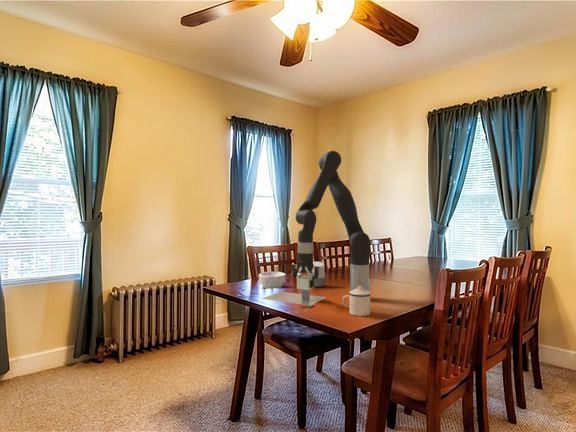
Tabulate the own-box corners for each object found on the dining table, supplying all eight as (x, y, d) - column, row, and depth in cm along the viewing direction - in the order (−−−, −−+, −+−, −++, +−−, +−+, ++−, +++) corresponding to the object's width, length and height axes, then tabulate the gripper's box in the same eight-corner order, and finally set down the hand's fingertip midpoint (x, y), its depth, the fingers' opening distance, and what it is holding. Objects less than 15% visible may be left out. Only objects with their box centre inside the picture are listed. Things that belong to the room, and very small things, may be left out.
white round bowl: (274, 291, 197) (274, 277, 197) (253, 288, 206) (253, 274, 206) (290, 287, 209) (290, 273, 209) (270, 283, 219) (270, 270, 218)
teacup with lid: (372, 311, 157) (372, 284, 157) (369, 317, 148) (369, 289, 148) (344, 309, 161) (344, 282, 161) (340, 314, 153) (340, 286, 153)
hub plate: (326, 300, 178) (326, 287, 178) (310, 308, 162) (310, 295, 162) (280, 294, 190) (280, 282, 190) (261, 301, 174) (261, 289, 174)
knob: (313, 287, 174) (313, 277, 174) (308, 290, 169) (308, 279, 169) (302, 286, 177) (302, 275, 177) (296, 288, 172) (296, 277, 172)
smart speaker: (308, 288, 206) (308, 263, 206) (308, 284, 216) (308, 261, 215) (325, 288, 206) (325, 263, 206) (324, 285, 215) (324, 261, 215)
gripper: (322, 252, 173) (322, 287, 173) (295, 250, 180) (295, 284, 180) (315, 253, 166) (315, 290, 166) (288, 251, 173) (288, 286, 174)
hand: (305, 286), depth 173 cm, fingers closed on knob, 6 cm apart
